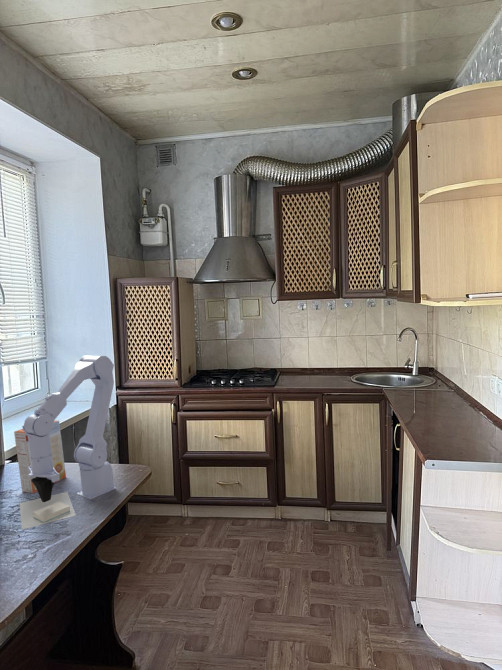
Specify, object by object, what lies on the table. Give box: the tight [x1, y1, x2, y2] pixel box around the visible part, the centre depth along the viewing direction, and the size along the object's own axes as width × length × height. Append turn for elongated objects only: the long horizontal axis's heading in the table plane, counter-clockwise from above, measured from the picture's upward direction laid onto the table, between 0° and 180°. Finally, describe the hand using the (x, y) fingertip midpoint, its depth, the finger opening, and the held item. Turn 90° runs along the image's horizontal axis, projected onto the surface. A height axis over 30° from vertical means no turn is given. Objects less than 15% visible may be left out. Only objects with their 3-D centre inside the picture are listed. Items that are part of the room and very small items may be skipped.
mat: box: [19, 491, 77, 530], centre depth 143 cm, size 20×14×1 cm
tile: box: [33, 502, 70, 522], centre depth 139 cm, size 8×2×6 cm
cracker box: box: [13, 419, 67, 494], centre depth 162 cm, size 14×6×21 cm, turn 154°
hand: (46, 500), depth 140 cm, fingers closed
